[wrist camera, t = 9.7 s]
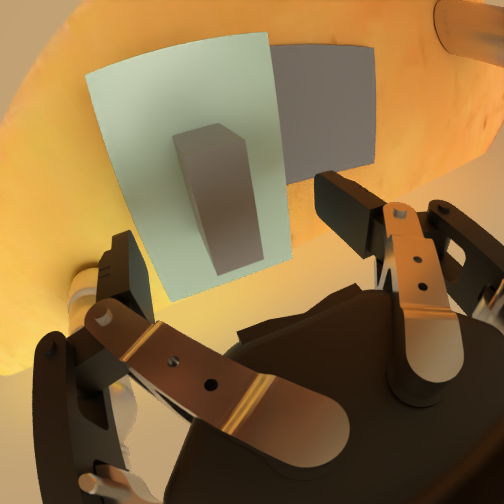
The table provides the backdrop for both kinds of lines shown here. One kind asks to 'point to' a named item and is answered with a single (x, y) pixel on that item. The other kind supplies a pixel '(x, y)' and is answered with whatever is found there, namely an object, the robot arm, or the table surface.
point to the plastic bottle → (121, 390)
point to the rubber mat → (325, 107)
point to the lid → (199, 158)
